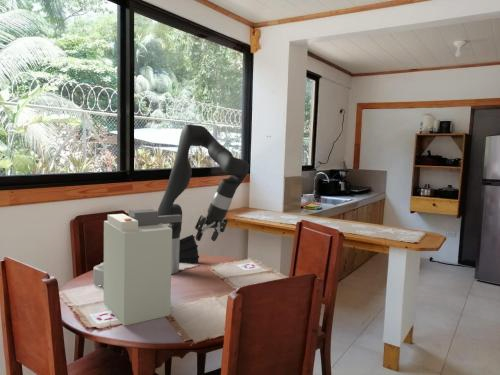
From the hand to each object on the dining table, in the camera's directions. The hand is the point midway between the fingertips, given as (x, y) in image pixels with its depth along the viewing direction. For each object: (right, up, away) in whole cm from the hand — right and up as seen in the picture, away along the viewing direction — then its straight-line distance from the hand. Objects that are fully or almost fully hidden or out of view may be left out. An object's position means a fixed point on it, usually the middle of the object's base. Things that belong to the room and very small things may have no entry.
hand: (205, 240), depth 159 cm
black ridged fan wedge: (-16, -19, +50) cm, 56 cm away
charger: (-17, +8, -10) cm, 22 cm away
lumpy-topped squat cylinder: (-45, -21, +15) cm, 51 cm away
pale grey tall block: (-25, -24, -12) cm, 37 cm away
